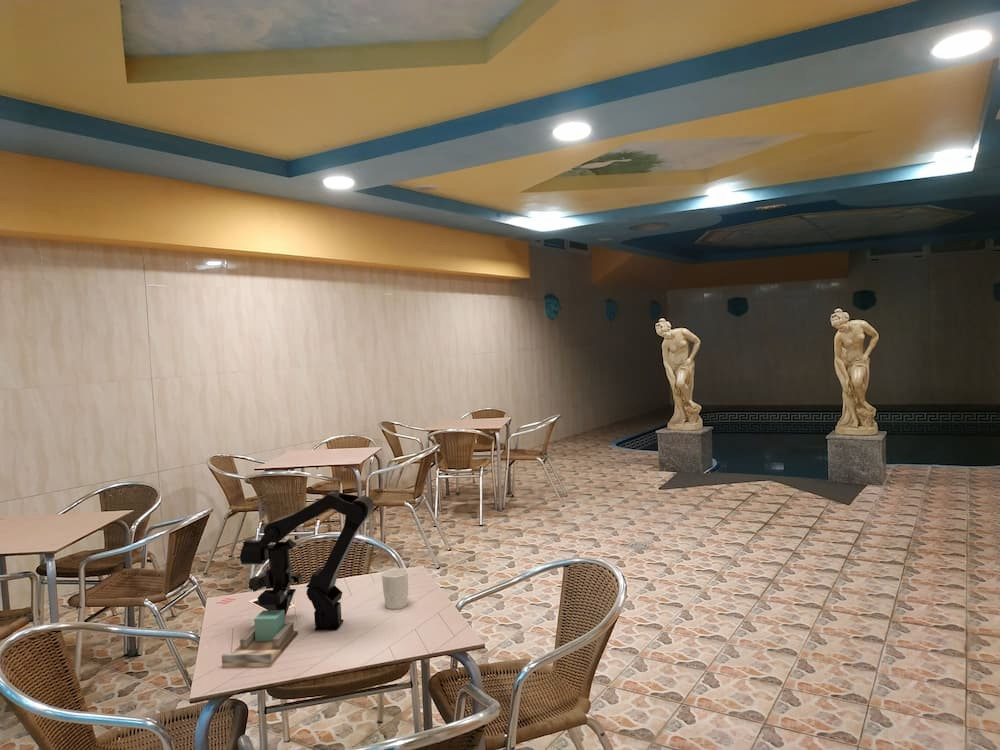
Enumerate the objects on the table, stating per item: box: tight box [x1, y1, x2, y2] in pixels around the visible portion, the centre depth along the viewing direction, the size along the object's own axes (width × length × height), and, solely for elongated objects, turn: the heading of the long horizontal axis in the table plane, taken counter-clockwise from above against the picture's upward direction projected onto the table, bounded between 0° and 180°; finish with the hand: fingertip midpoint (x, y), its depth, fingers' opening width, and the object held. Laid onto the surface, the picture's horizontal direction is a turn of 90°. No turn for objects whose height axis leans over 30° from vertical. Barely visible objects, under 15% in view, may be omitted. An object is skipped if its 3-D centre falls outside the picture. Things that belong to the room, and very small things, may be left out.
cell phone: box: [248, 597, 296, 610], centre depth 217 cm, size 8×16×1 cm, turn 45°
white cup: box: [381, 567, 409, 610], centre depth 211 cm, size 8×8×10 cm
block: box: [253, 609, 286, 641], centre depth 189 cm, size 6×6×6 cm
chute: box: [221, 621, 299, 668], centre depth 183 cm, size 12×19×3 cm, turn 176°
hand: (282, 617), depth 198 cm, fingers closed
